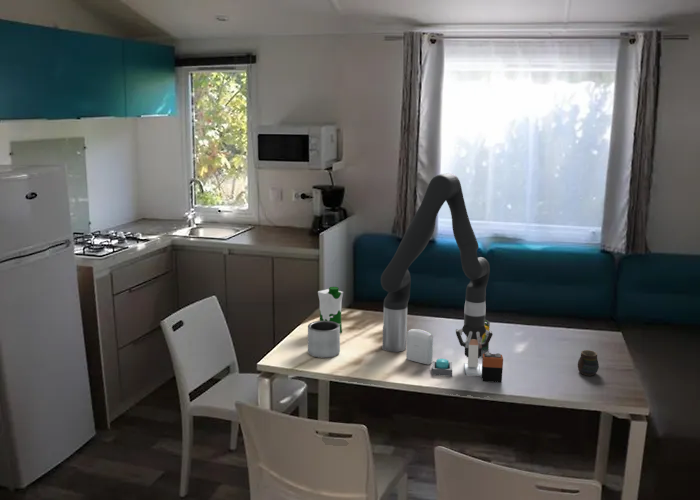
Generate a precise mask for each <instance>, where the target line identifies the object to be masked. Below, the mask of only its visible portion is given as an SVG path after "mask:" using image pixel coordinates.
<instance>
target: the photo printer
mask: <svg viewBox="0 0 700 500" xmlns="http://www.w3.org/2000/svg"><path fill="white" fill-rule="evenodd" d="M433 341H434V336H433V334H431V333H430V332H428V331H425V330H424V329H419V328H411V329H409V330H408V331H407V335H406V355H405V357H406V360H408V361H411V362H415V363H420V364H424V365H430V364H433V349H434V348H433V347H434V346H433V344H434V343H433Z"/></svg>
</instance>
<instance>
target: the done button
mask: <svg viewBox="0 0 700 500" xmlns="http://www.w3.org/2000/svg"><path fill="white" fill-rule="evenodd" d="M435 362H436V368H441V369H448V363H449V360H448V359H446V358H437V359H436V361H435Z"/></svg>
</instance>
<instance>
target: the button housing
mask: <svg viewBox="0 0 700 500" xmlns="http://www.w3.org/2000/svg"><path fill="white" fill-rule="evenodd" d="M452 363H453V362H449V363H448V369H441V368H436V361H433V360H432V363H431V364H432V365H431V367H432V371H431V372H432V374H431V375H432V376H438V377H439V376H442V377H452V376H453V364H452Z"/></svg>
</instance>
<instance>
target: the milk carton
mask: <svg viewBox="0 0 700 500" xmlns="http://www.w3.org/2000/svg"><path fill="white" fill-rule="evenodd" d="M317 295H318V296H317V297H318V299H319V321H332V322H336V323H338V324H339V325H340V334H342V333H343V326H342V323H343V322H342V300H343V296H344V291H341V290H339V287H337V286H330V287H329V288H327V289H321V290H318V291H317Z"/></svg>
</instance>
